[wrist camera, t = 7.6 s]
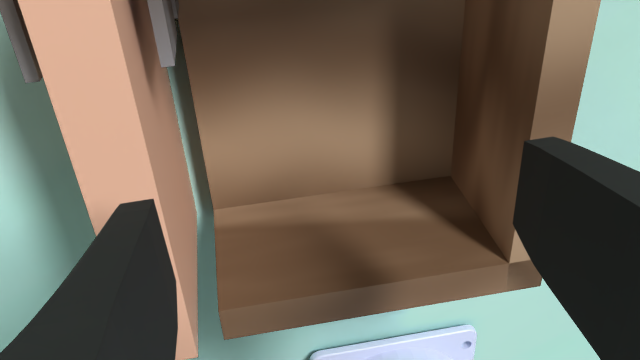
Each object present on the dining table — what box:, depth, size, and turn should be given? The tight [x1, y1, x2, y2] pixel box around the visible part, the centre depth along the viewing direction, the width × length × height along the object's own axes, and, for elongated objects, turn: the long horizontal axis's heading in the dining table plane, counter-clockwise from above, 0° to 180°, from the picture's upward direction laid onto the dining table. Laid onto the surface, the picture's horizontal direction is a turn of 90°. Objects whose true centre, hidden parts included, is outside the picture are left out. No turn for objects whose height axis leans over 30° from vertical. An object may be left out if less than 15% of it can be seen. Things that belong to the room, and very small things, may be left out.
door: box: [18, 0, 198, 360], centre depth 16 cm, size 11×2×7 cm, turn 3°
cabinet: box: [0, 0, 601, 340], centre depth 17 cm, size 13×13×6 cm
